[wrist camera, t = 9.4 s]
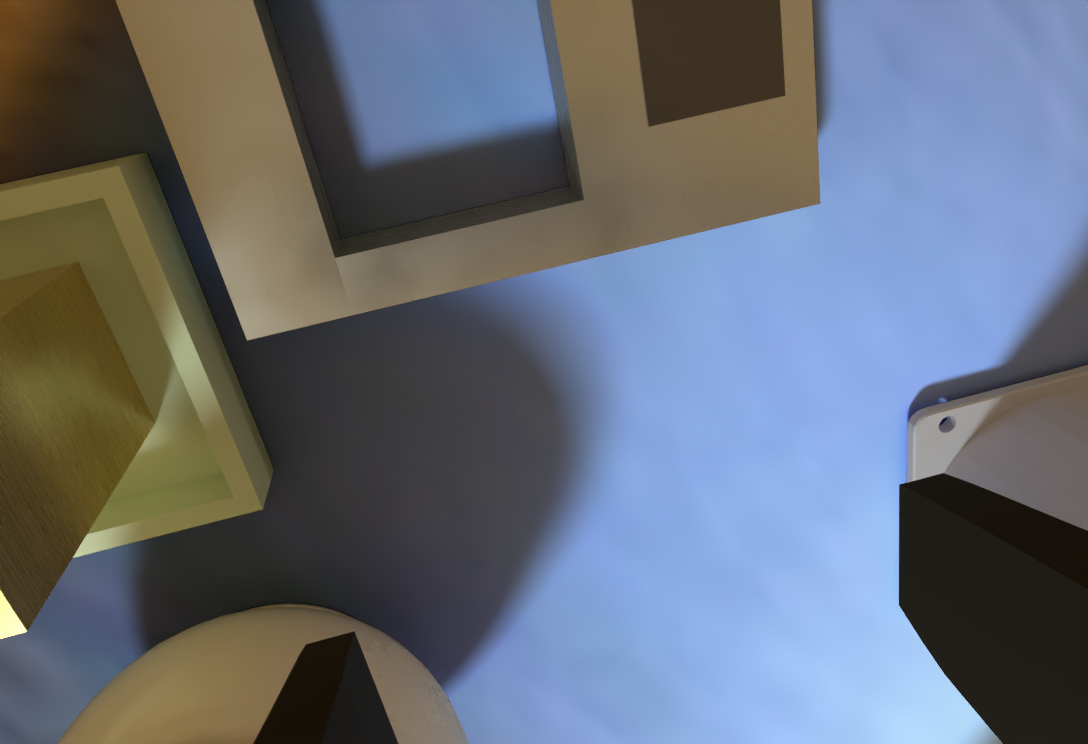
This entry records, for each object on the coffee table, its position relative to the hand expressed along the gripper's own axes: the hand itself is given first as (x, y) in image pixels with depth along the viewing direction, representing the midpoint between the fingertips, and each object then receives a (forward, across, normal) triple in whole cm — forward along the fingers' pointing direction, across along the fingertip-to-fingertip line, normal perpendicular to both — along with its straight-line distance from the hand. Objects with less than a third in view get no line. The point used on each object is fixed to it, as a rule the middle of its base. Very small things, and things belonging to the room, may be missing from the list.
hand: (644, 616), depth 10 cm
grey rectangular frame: (+10, 0, -6) cm, 12 cm away
